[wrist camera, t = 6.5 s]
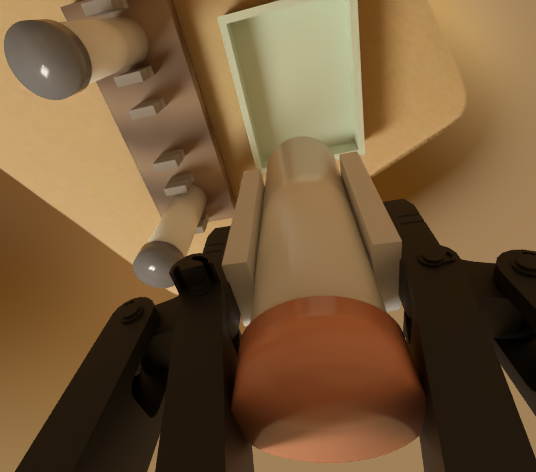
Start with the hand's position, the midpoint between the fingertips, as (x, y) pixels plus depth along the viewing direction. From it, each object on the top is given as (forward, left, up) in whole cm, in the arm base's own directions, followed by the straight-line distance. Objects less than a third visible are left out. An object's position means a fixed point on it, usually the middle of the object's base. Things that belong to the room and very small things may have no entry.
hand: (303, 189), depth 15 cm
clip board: (+1, -13, -21) cm, 25 cm away
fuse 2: (+9, -13, -19) cm, 25 cm away
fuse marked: (0, 0, -2) cm, 2 cm away
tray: (0, +1, -21) cm, 21 cm away
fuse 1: (-7, -13, -19) cm, 25 cm away
